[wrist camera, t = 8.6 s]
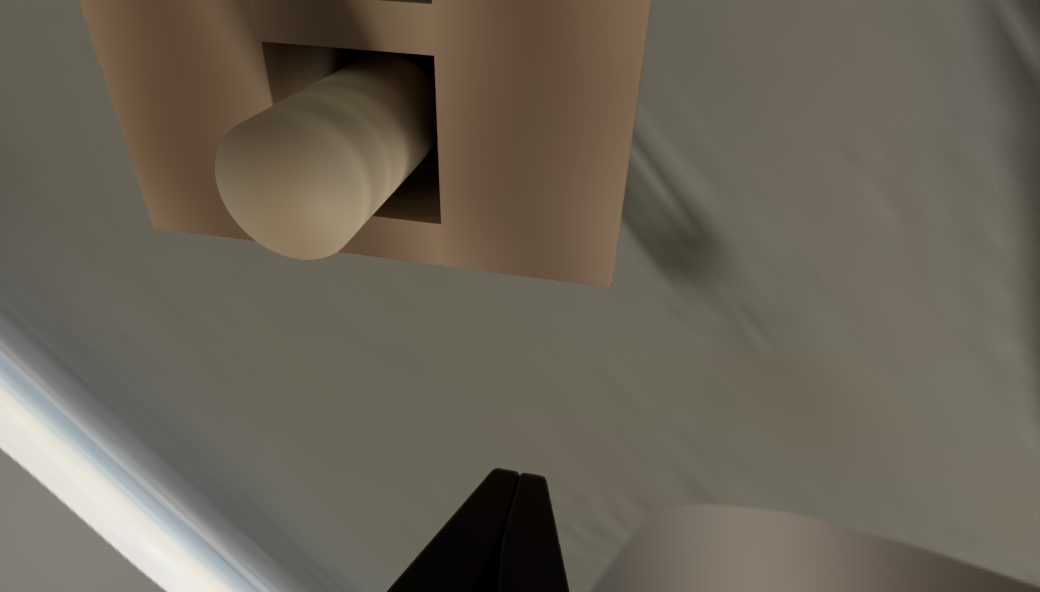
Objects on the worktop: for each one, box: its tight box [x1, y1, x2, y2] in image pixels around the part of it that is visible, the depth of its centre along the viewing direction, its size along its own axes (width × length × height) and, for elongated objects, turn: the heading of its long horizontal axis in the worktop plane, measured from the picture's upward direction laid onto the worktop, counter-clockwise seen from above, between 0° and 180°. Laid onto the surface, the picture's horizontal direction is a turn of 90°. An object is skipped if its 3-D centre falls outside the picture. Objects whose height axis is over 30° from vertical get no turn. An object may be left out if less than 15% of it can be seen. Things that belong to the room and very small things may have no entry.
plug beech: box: [215, 53, 438, 260], centre depth 15 cm, size 3×3×6 cm
